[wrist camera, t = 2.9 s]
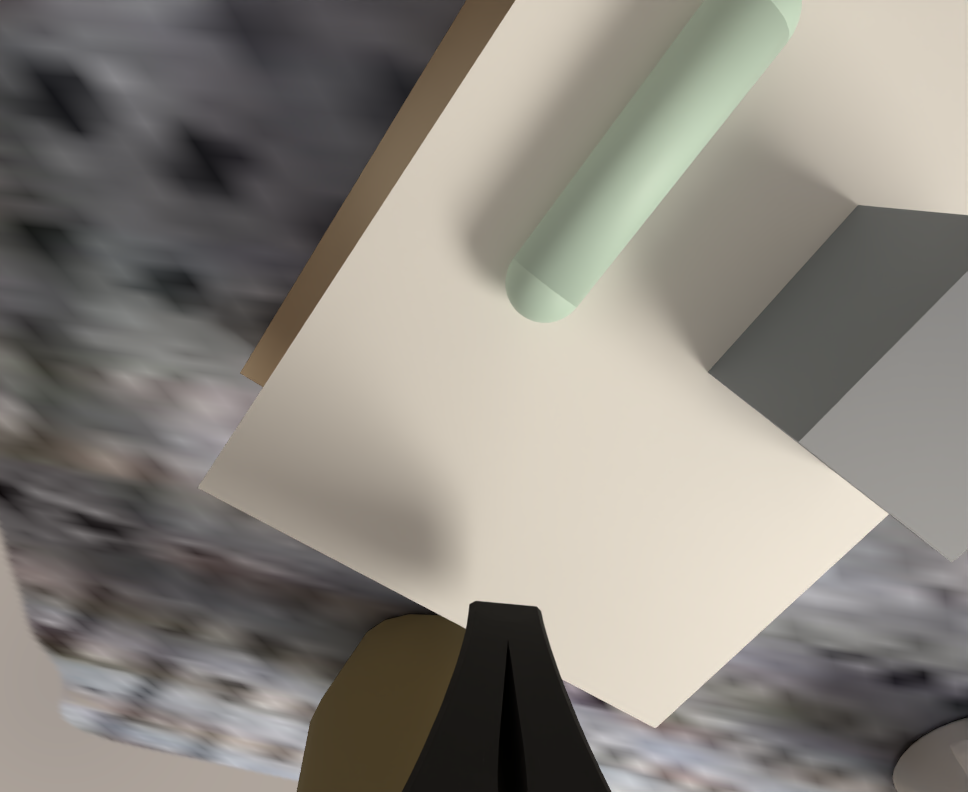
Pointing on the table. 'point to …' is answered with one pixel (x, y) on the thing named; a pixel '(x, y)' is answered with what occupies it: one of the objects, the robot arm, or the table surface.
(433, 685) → the squeeze bottle
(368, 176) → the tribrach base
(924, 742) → the mug
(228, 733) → the table surface
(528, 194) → the level plate
